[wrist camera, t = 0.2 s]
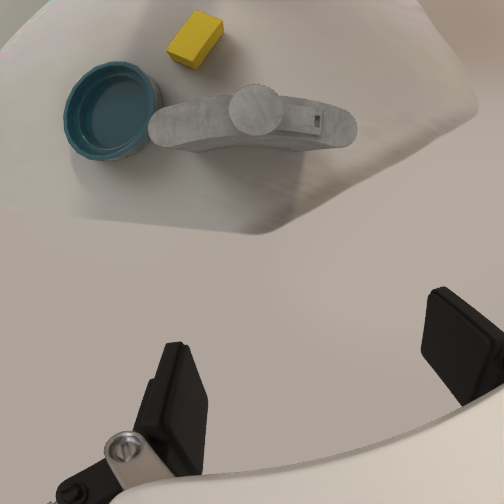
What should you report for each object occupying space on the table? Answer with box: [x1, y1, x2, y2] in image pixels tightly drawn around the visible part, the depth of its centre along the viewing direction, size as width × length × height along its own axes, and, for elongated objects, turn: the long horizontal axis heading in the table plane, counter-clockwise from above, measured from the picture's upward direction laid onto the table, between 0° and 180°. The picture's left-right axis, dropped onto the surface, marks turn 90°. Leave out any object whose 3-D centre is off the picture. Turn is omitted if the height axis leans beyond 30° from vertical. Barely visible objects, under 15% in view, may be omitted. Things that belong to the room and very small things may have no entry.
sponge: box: [166, 10, 224, 70], centre depth 30 cm, size 7×4×4 cm, turn 150°
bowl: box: [63, 62, 162, 161], centre depth 32 cm, size 13×13×4 cm
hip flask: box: [148, 84, 357, 152], centre depth 27 cm, size 16×4×20 cm, turn 90°
